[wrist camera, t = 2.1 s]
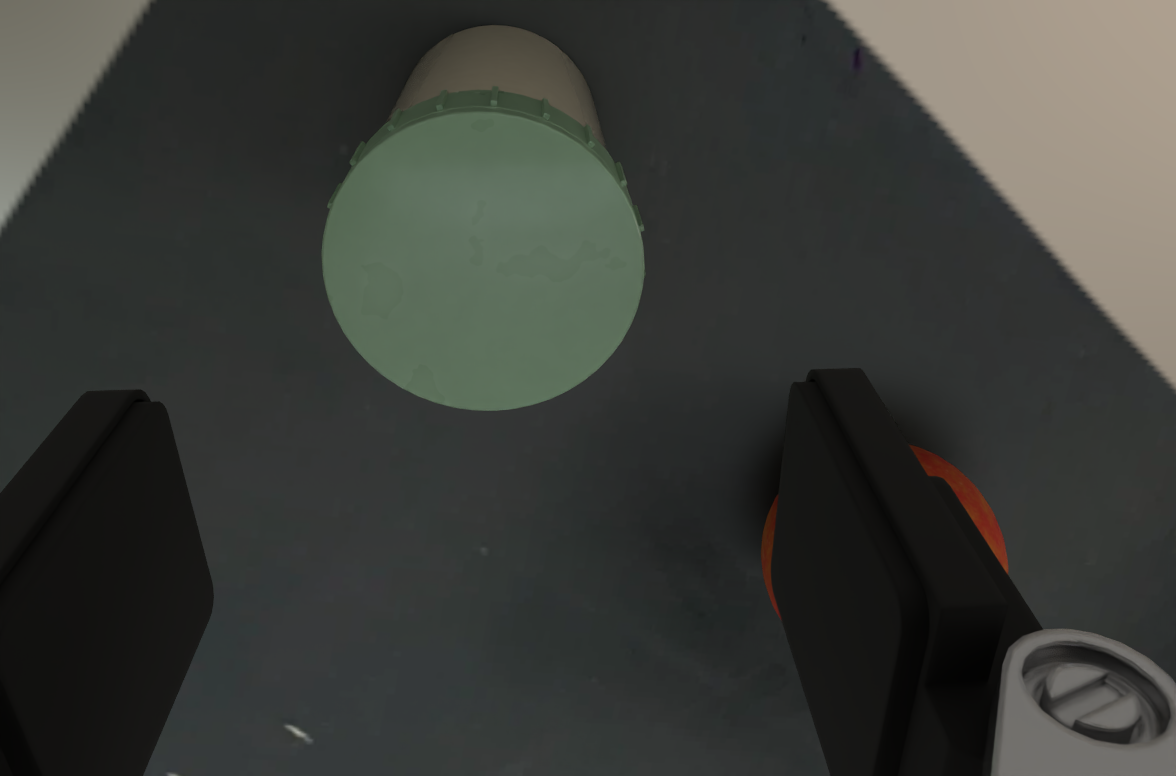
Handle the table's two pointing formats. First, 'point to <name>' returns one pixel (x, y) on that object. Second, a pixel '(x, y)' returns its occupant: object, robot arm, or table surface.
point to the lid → (483, 251)
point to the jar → (502, 71)
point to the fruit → (933, 467)
